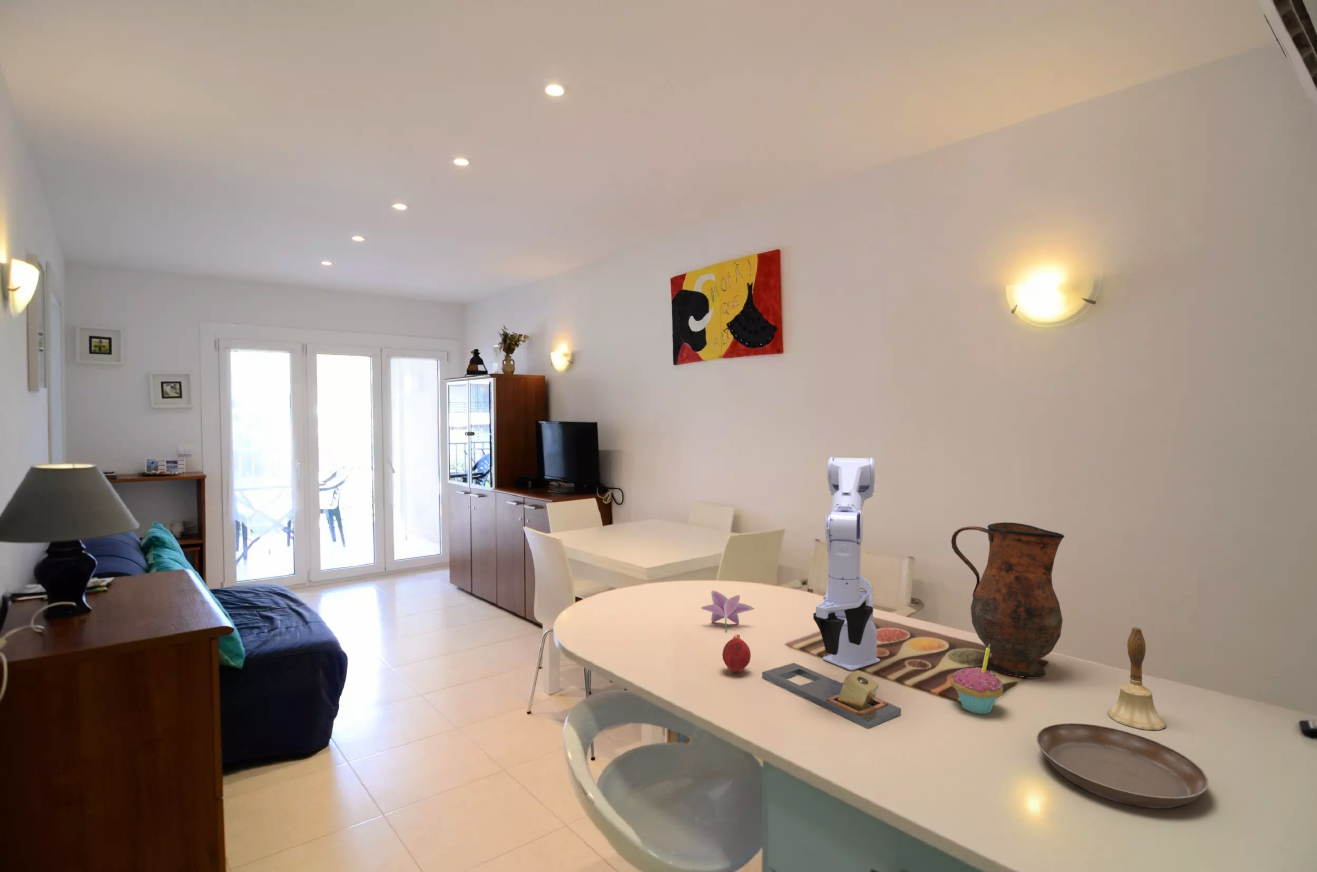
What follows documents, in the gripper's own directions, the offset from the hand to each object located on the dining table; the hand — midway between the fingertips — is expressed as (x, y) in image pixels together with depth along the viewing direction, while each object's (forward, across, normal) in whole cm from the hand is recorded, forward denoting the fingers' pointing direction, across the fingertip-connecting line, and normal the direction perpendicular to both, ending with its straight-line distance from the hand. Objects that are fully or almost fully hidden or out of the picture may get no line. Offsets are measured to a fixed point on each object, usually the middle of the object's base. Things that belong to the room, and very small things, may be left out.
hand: (843, 648), depth 123 cm
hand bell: (+10, -31, +38) cm, 50 cm away
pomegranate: (+10, +6, -22) cm, 24 cm away
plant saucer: (+10, -8, +41) cm, 43 cm away
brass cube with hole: (+9, +2, +4) cm, 10 cm away
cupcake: (+10, -15, +18) cm, 25 cm away
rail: (+10, +1, -3) cm, 10 cm away
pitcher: (+10, -40, +13) cm, 43 cm away
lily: (+10, -14, -43) cm, 46 cm away
